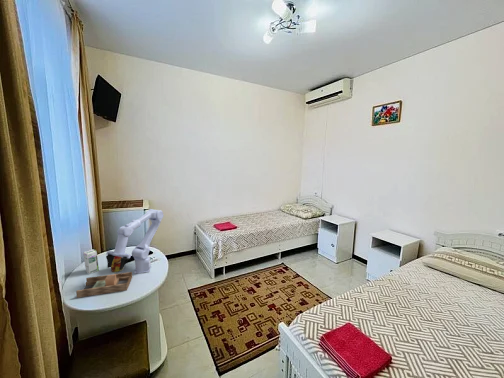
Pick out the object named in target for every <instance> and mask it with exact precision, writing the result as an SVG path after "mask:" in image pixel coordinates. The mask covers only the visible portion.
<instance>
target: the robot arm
mask: <svg viewBox="0 0 504 378" xmlns="http://www.w3.org/2000/svg"><path fill="white" fill-rule="evenodd" d="M163 218H164V212H163V210H161V209H155V208H154V209H153V208H149V209H148V210H146V212H145V213H144V214H143V215H141V216H140V217H139V218H138V219H131V221H130V222H128V223H126V224H125V225H122V226H120V227H119V228H118V229H117V231H116V232H117V239H116V242H115V248H114V250H113V251H110V250H109V251H106V254H105V255H106V262H107V268H108V269H109V268H110V269H111V265H112V262H113V259H114V257H115V256H119V257H123V258H121V264H120V268H119V270H122V269H123V267H124V268H125V265H126V264H127V262H128V261H129V260H130V258H131V256H132V257H133V259H134V266H135V267H134V268H135V269H134V272H133V274H134V275H135V274H144V273H149V272H150V270H151V268H152V266H151V265H152V264H151V256H150V257H149V253H150V250H151V249H150V247H149V246H150V244H151V242H152V240H153V238H154V236H155V234H156V232H157V230H158V229H159V227H160V225H161V222H162V220H163ZM147 220H150V222H151V224H150V226H149V227H148V229H147V231H146V232H145V235H144V236H143V238H142V240H141V242H140V243H139V244H137V245H136V246H135V248H134V249H132V251H131V254H128V253H125V252H126V249H127V245H128V241H129V237H130V236H131V235H132V234H133V232H134V231H135V230H137V229H138V228H139V227H141V224H143V223H144V222H146V221H147ZM120 255H121V256H120ZM123 270H124V269H123ZM123 270H122V271H123Z"/></svg>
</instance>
